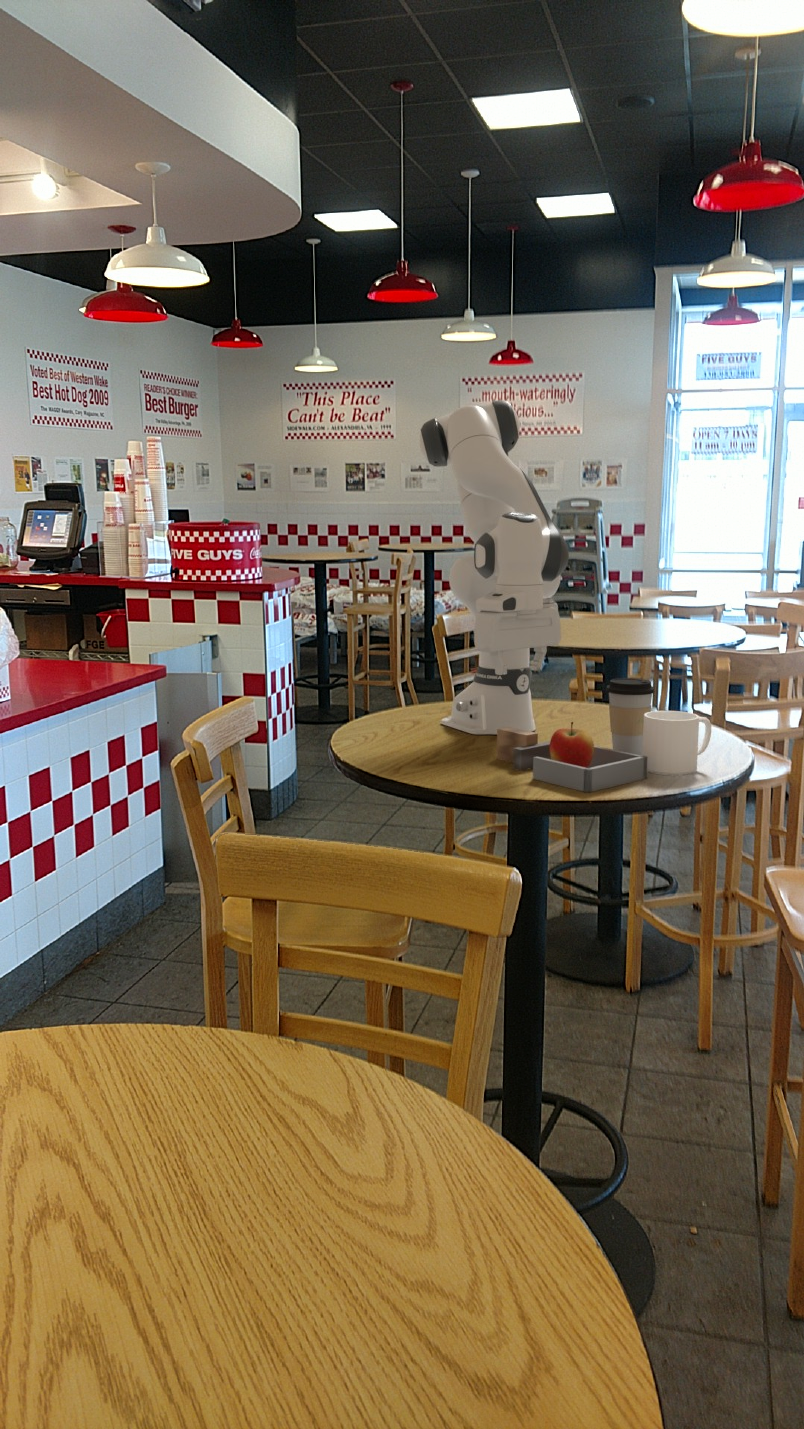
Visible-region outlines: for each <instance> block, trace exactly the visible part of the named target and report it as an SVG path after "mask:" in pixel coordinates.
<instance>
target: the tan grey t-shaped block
mask: <svg viewBox="0 0 804 1429" xmlns="http://www.w3.org/2000/svg"><path fill="white" fill-rule="evenodd" d="M538 736H539V733H538V732H534V731H532V732H529V731H525V730H520V729H515V728H510V727H506V728H500V729H497V734H496V746H497V747H496V759H497V760H499V761H504V762H509V763H513V767H512V768H513V770H517V771H525V770H530V769H533V757H542V758H546V759H550V760H551V757H550V749H549V747H550V741H551V740H549V741H544V742H539V743H538V741H539V740H538V738H539V737H538Z"/></svg>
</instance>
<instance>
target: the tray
mask: <svg viewBox="0 0 804 1429" xmlns="http://www.w3.org/2000/svg"><path fill="white" fill-rule="evenodd" d="M647 774H648V772H647V757H646V756H642V755H637V754H632V753H627V752H622V751H618V750H613V748H607V747H603V746H597V745H594V754H593V758H592V761H591V763H590V765H589V767H588V768H585V767H581V766H576V765H572V764H568V763H563V762H559V761H555V760H550V759H546V758H542V757H533V768H532V779H534V780H537V781H539V782H544V783H548V784H552V785H555V786H560V787H563V788H567V789H572V790H576V791H579V792H584V793H588V794H589V793H592V792H597V791H601V790H604V789H608V788H613V787H616V786H617V787H618V786H620V785H621V786H622V785H624V784H628V783H629V784H630V783H633V782H637V781H640V780H646V779H647Z"/></svg>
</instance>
